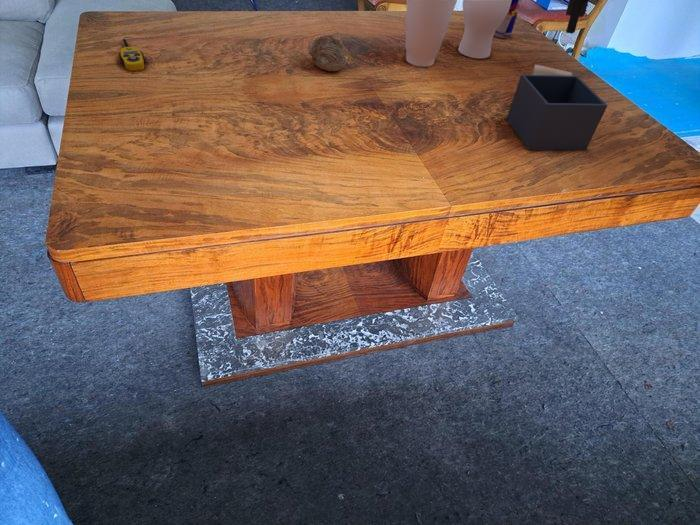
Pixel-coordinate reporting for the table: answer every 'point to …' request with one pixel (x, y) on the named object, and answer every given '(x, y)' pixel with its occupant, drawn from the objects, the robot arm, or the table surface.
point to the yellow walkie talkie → (131, 58)
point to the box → (555, 112)
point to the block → (549, 71)
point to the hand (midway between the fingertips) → (570, 32)
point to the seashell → (327, 53)
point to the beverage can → (508, 21)
